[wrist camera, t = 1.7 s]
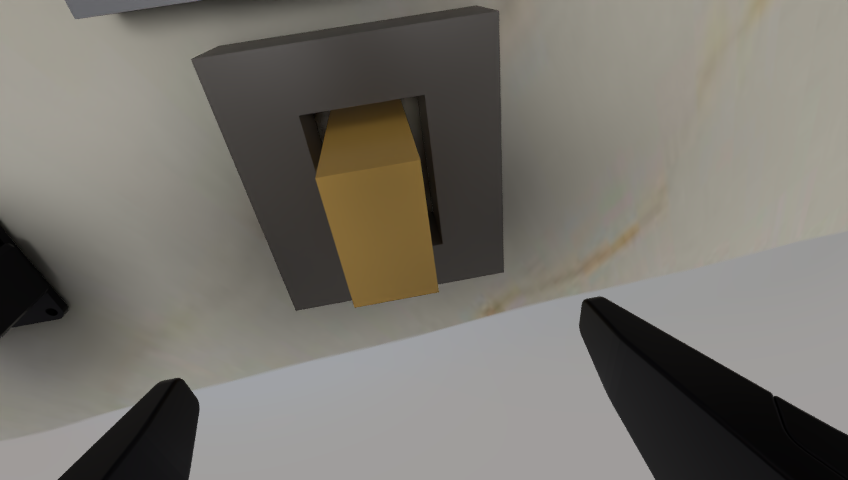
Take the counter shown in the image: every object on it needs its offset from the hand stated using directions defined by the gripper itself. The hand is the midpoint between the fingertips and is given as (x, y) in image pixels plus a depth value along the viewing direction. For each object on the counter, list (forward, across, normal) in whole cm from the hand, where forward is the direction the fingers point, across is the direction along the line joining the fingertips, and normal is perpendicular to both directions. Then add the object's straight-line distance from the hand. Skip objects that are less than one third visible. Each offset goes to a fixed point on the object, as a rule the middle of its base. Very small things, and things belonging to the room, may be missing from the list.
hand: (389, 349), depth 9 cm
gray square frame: (+11, 0, 0) cm, 11 cm away
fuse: (+12, 0, 0) cm, 12 cm away
